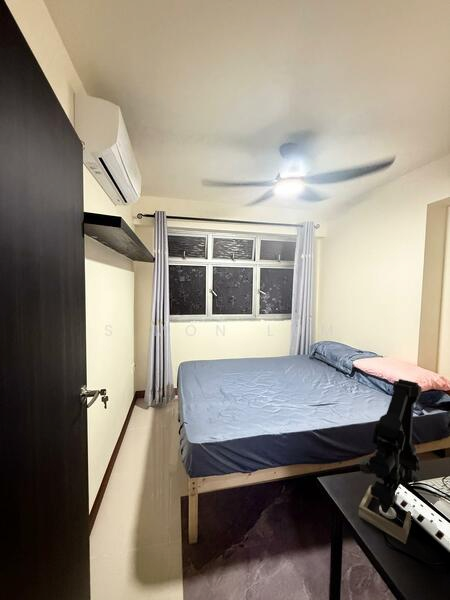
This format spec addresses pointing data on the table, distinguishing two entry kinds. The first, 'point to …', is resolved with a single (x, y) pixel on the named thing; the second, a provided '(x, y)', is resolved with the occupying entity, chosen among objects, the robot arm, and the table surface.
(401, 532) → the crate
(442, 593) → the table surface
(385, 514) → the chess piece
